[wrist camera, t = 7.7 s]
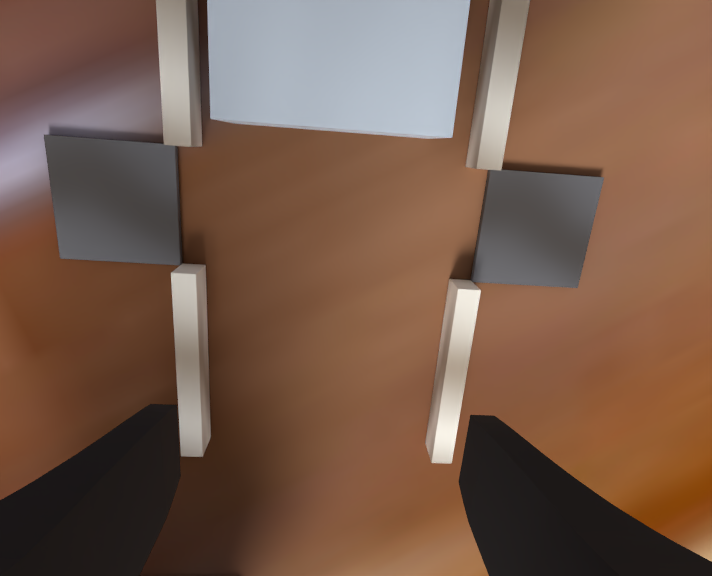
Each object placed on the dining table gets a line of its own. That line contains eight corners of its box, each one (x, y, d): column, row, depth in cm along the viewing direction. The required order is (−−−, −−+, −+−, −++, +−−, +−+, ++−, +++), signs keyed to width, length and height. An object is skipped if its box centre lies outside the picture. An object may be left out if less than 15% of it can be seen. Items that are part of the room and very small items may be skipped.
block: (427, 138, 19) (452, 137, 15) (235, 123, 18) (210, 118, 14) (446, -27, 17) (480, -77, 13) (233, -50, 16) (204, -108, 13)
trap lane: (536, 446, 24) (564, 488, 21) (87, 433, 22) (50, 476, 19) (666, -102, 16) (737, -154, 13) (6, -186, 15) (-73, -266, 12)
